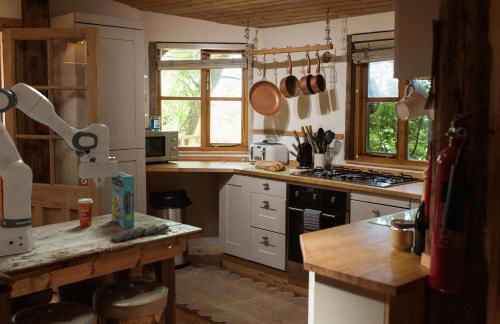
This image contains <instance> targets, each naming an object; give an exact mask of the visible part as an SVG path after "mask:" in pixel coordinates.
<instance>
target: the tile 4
mask: <svg viewBox="0 0 500 324" xmlns="http://www.w3.org/2000/svg"><path fill="white" fill-rule="evenodd" d="M157 230H159V229H158V227H157V225H154V224H153V225H151V226H148V227H146V232H144V233H142V234H141V236H143V237H147V236H149V235H150V234H153V232H155V231H157Z"/></svg>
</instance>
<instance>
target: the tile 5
mask: <svg viewBox="0 0 500 324" xmlns="http://www.w3.org/2000/svg"><path fill="white" fill-rule="evenodd" d="M156 226H157V225H156ZM157 227H158V229H159V230H157V231H155V232H153V233H152V234H153V235H157V234H158V233H159V234H161V233H160V232H162V231H165V230H167V229H170V227H169V225H168V224H166V223H163V224H160V225H158V226H157Z"/></svg>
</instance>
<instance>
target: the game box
mask: <svg viewBox="0 0 500 324" xmlns="http://www.w3.org/2000/svg"><path fill="white" fill-rule="evenodd" d="M111 221H113V222H114V223H116V225H117V224H118V225H119V226H121V227H122V228H131V227H135V175H132V174H130V173H126V172H124V171H120V170H119V175H118V176H116V177H111Z"/></svg>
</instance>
